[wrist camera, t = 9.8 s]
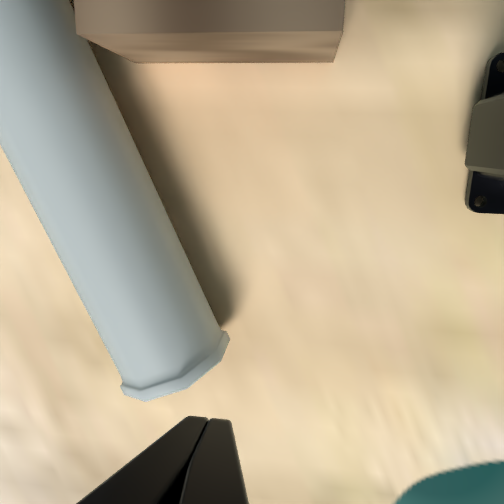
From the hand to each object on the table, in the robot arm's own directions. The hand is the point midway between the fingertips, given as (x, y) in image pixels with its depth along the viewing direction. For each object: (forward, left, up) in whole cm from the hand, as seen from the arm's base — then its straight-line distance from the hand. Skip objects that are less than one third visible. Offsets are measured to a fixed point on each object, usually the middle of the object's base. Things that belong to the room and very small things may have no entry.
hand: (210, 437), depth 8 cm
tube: (+9, -6, -14) cm, 17 cm away
